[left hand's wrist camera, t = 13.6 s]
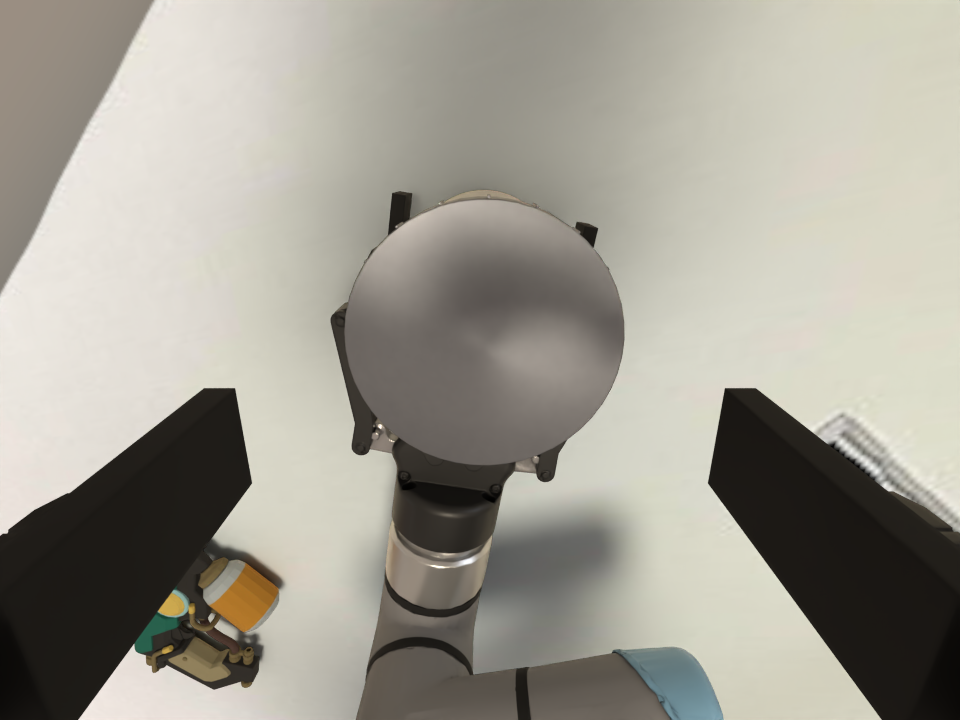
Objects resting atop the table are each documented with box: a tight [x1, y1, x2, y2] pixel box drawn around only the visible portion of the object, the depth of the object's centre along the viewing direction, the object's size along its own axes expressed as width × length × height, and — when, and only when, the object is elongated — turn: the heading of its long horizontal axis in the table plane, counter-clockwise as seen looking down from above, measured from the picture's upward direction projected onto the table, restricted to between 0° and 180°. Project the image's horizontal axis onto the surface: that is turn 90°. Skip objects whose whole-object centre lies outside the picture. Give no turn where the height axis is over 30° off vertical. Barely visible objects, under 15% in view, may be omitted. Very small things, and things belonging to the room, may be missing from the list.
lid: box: [345, 194, 624, 465], centre depth 20 cm, size 11×11×2 cm
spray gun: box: [135, 551, 279, 690], centre depth 46 cm, size 4×17×15 cm
